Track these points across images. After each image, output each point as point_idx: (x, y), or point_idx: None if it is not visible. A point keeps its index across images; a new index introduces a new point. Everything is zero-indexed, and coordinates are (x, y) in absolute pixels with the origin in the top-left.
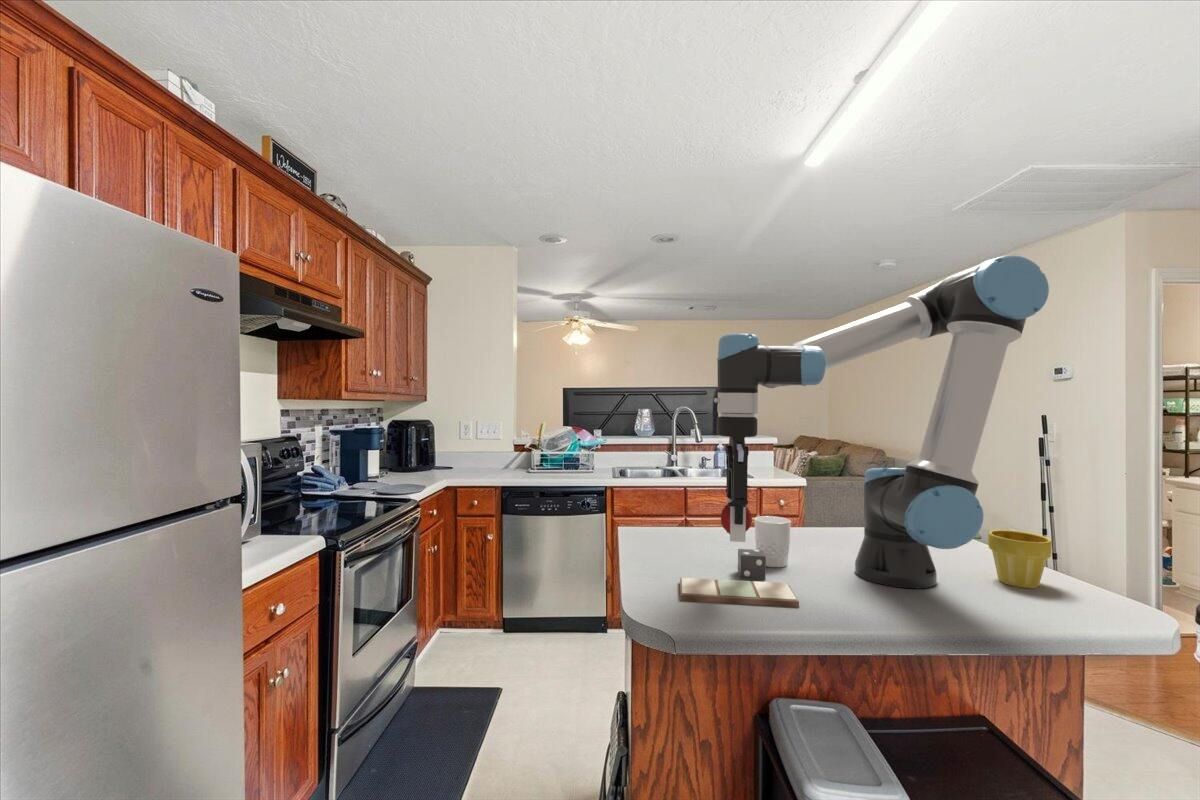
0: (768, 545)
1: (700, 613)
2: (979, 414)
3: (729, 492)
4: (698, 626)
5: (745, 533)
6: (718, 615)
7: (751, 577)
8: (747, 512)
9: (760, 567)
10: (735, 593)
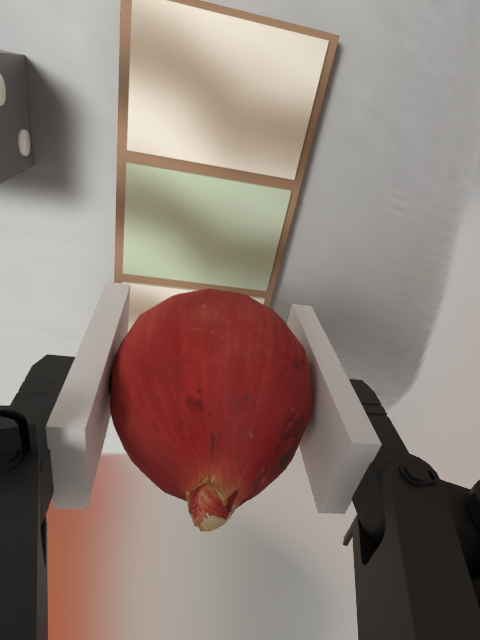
0: None
1: (331, 339)
2: None
3: (45, 560)
4: (395, 352)
5: (322, 328)
6: (349, 305)
7: (26, 120)
8: (289, 377)
9: (6, 80)
10: (254, 247)
